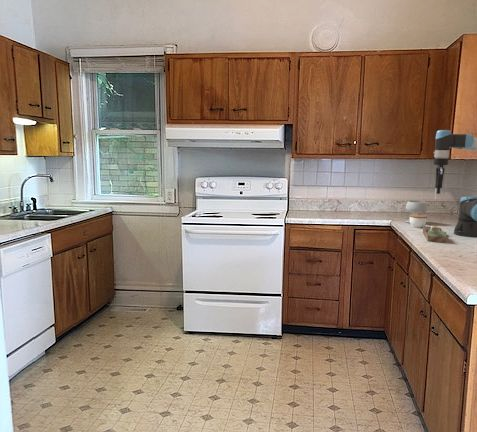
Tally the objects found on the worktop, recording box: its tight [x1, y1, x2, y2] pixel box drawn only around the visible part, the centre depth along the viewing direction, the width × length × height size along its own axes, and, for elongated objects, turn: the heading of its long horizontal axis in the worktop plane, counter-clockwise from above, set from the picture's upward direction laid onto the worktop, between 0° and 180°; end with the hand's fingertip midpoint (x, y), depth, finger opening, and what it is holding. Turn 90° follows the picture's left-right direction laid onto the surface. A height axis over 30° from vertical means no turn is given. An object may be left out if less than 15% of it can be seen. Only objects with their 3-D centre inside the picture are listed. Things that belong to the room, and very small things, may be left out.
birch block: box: [430, 225, 442, 231], centre depth 238 cm, size 4×4×4 cm
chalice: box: [405, 200, 428, 224], centre depth 296 cm, size 14×14×15 cm
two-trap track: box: [422, 224, 447, 243], centre depth 246 cm, size 9×27×6 cm, turn 162°
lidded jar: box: [409, 213, 428, 229], centre depth 279 cm, size 11×11×9 cm
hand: (437, 199), depth 243 cm, fingers closed
